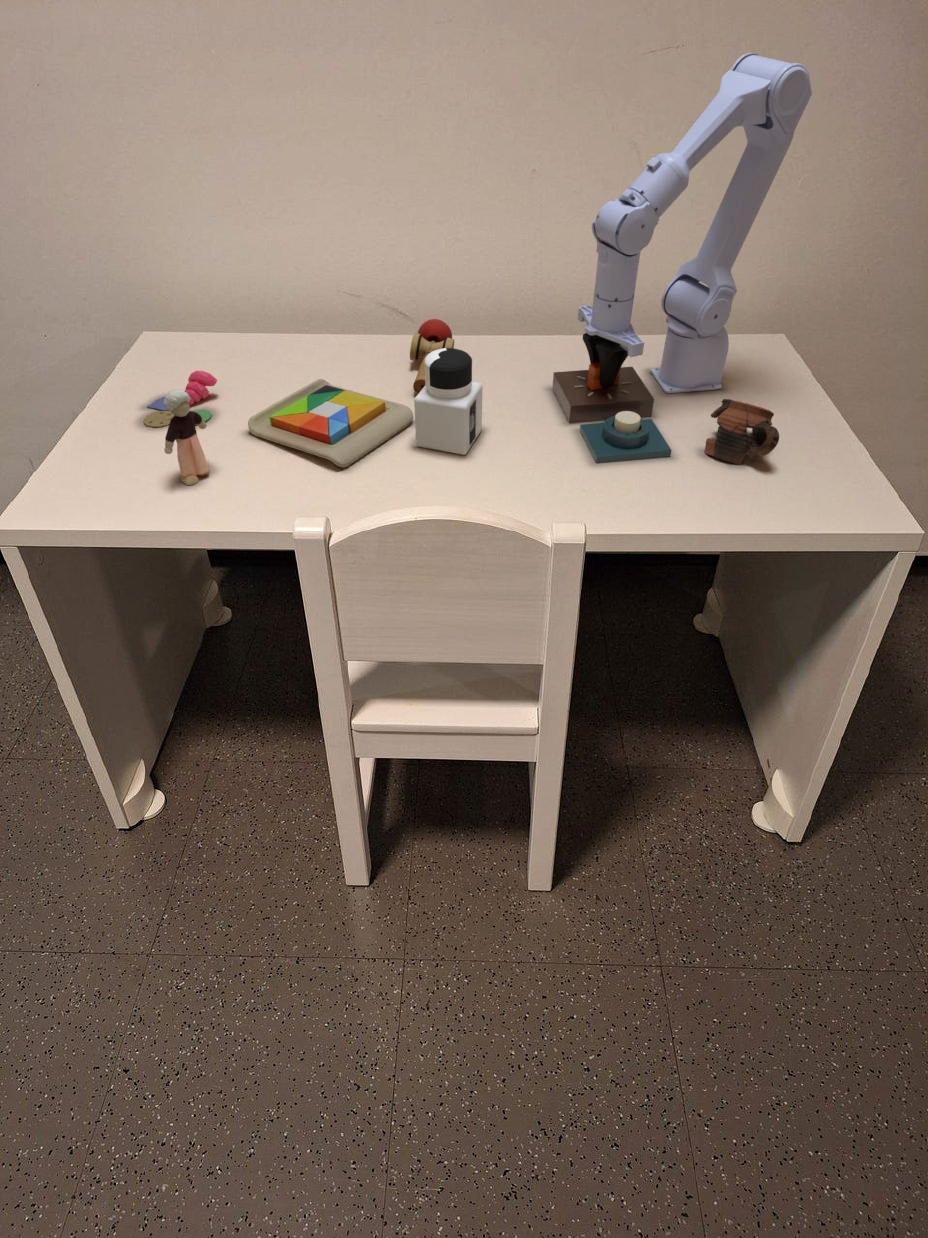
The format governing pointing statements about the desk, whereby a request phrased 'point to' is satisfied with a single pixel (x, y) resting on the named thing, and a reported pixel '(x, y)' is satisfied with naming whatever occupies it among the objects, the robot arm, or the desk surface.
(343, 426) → the wooden puzzle
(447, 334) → the kendama
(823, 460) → the desk surface
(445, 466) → the desk surface
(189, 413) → the grandmother figurine
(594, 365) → the dial knob
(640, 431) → the button block
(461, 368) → the container
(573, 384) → the dial board
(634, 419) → the button
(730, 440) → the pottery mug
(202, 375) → the toy pieces
